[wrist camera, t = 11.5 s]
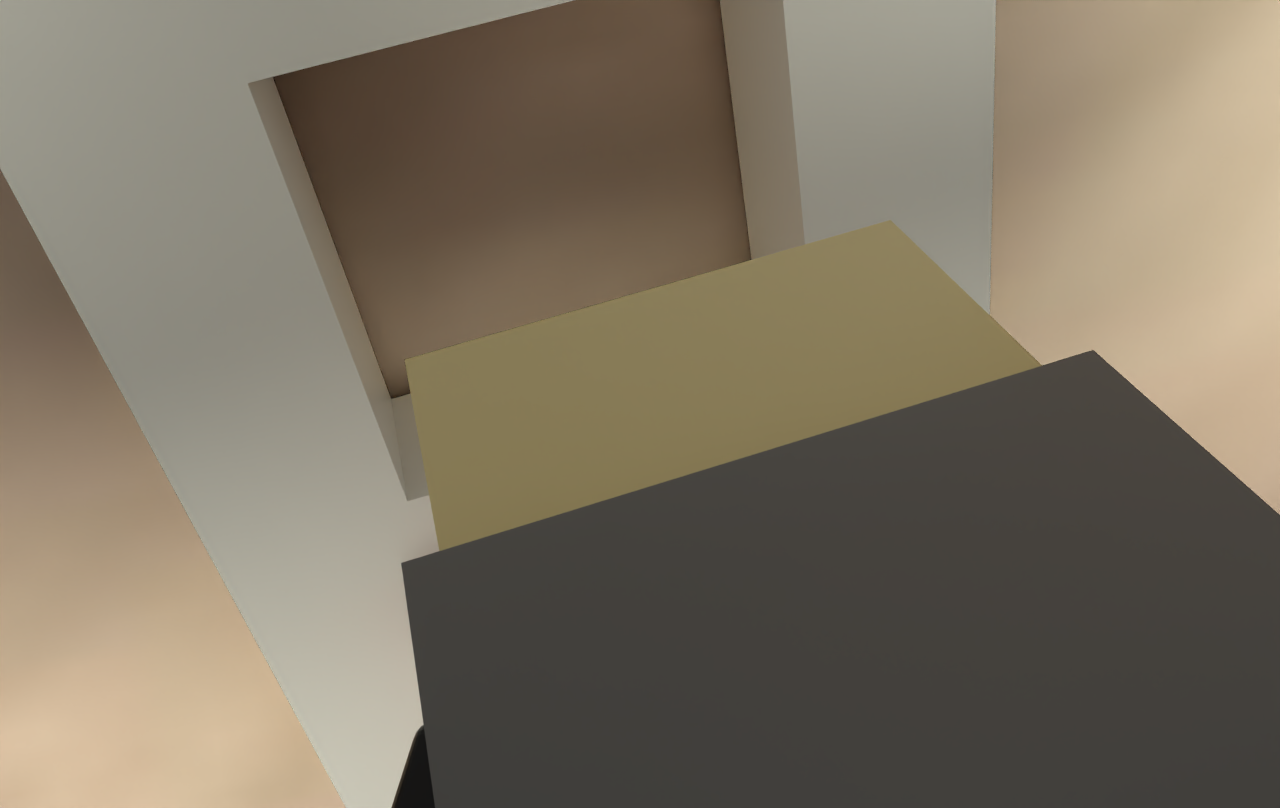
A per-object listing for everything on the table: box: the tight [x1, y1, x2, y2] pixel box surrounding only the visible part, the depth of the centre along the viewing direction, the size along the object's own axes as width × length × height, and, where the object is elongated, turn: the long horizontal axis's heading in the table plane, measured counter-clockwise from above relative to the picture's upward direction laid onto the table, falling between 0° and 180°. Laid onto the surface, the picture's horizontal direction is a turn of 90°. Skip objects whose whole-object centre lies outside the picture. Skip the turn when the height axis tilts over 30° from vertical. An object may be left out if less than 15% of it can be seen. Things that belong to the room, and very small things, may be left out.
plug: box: [401, 220, 1280, 808], centre depth 7 cm, size 4×4×7 cm
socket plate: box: [0, 0, 996, 808], centre depth 16 cm, size 18×11×2 cm, turn 9°
